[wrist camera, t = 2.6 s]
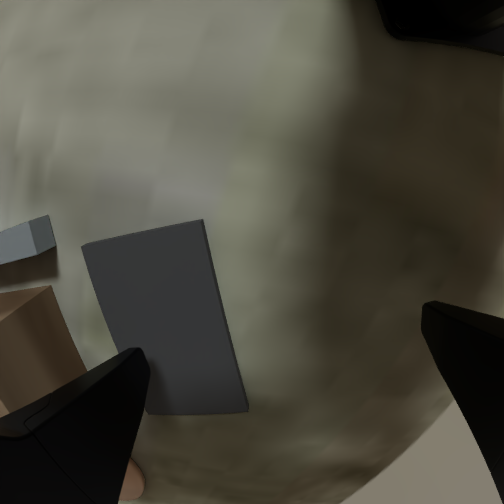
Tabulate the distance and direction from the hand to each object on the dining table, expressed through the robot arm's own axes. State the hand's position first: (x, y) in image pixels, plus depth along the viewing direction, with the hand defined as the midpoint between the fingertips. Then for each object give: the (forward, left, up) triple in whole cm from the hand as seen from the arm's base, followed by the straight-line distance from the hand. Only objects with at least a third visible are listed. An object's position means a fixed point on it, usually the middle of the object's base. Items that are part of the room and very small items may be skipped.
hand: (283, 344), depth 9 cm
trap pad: (+4, 0, -2) cm, 4 cm away
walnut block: (+11, 0, -2) cm, 11 cm away
